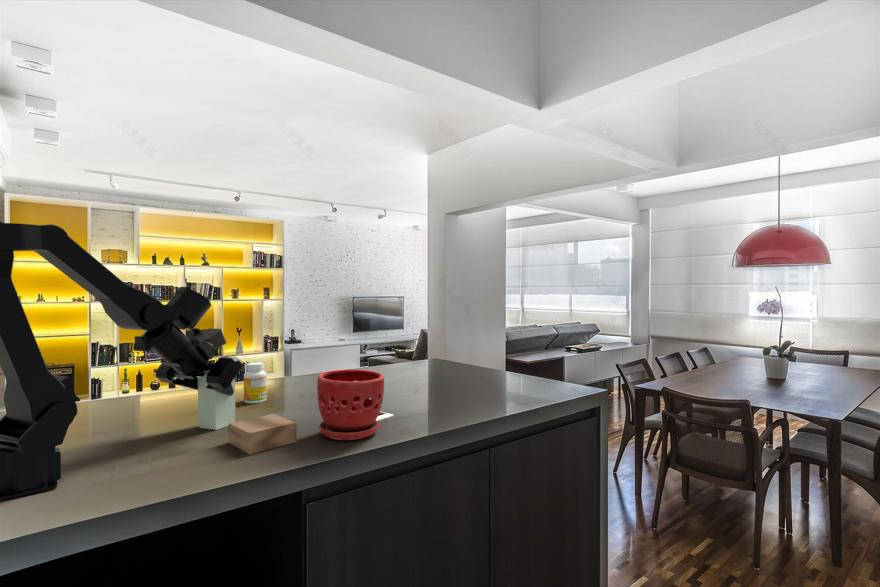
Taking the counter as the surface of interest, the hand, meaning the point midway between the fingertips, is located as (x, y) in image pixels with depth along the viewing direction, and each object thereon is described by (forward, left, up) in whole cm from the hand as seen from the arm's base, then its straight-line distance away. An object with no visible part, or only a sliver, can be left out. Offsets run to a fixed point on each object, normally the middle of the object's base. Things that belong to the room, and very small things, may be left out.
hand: (222, 392), depth 98 cm
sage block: (-1, -1, -7) cm, 7 cm away
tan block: (+2, -18, -7) cm, 19 cm away
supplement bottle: (+13, +15, -7) cm, 21 cm away
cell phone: (+26, -13, -7) cm, 30 cm away
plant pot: (+17, -25, -7) cm, 30 cm away
